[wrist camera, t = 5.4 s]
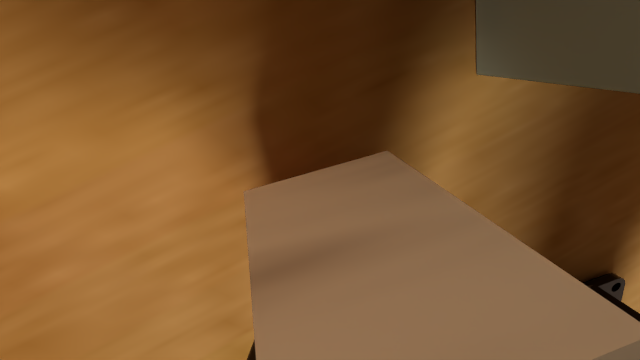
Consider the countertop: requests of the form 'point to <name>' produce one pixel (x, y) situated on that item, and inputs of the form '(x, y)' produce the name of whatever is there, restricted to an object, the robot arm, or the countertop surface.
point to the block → (410, 277)
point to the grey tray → (561, 42)
